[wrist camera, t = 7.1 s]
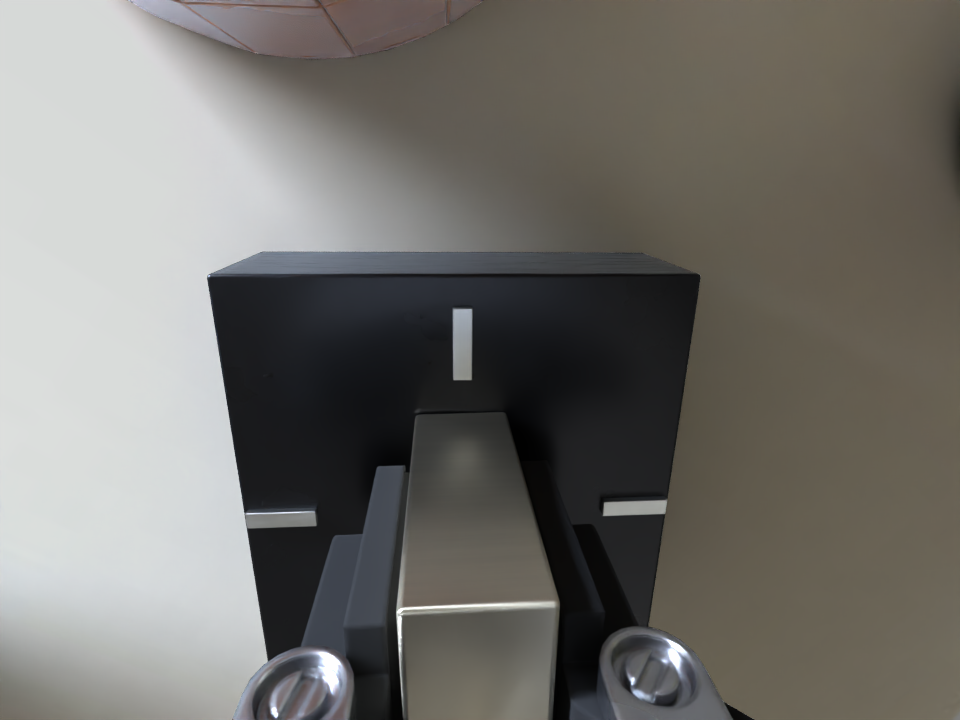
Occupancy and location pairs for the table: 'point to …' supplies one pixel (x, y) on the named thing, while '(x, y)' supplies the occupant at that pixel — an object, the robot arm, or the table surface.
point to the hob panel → (447, 391)
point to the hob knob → (473, 579)
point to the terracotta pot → (311, 23)
